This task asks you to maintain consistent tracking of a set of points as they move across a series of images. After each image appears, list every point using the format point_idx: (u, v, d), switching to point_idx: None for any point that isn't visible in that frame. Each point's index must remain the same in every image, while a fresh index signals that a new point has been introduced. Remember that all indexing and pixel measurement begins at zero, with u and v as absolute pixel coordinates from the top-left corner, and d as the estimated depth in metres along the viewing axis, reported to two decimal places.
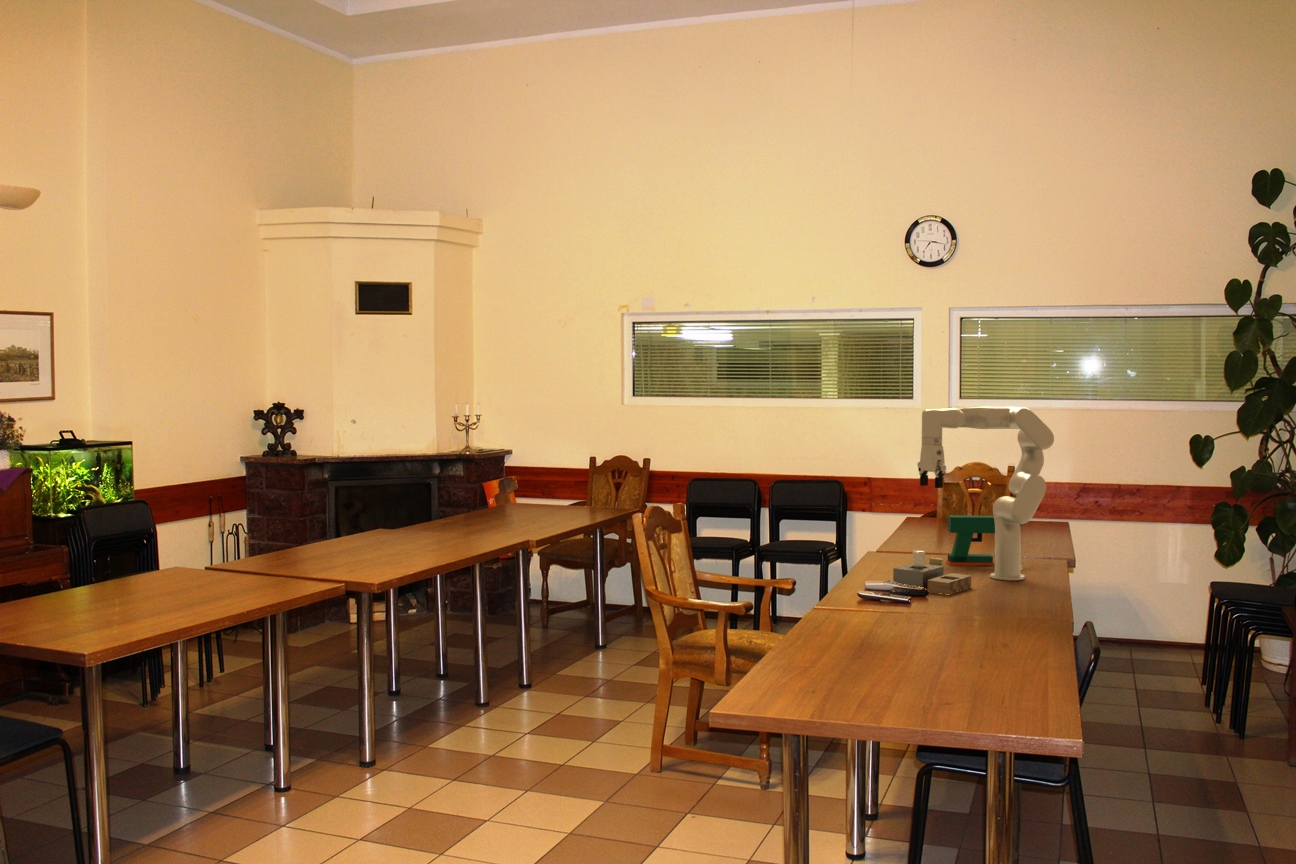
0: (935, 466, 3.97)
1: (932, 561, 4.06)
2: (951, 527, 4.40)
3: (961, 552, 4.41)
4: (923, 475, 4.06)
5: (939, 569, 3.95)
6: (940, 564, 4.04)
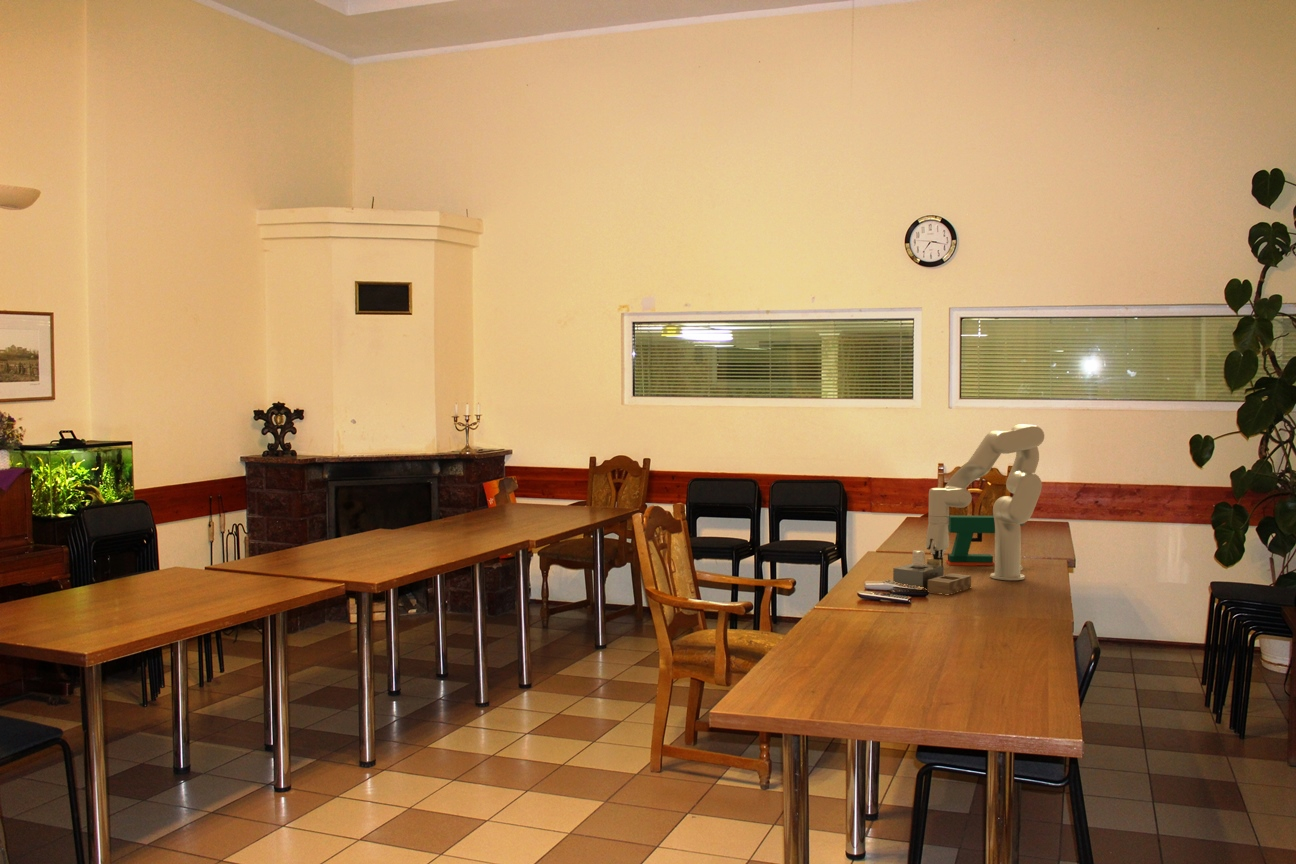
0: None
1: (930, 562, 4.05)
2: (951, 527, 4.40)
3: (961, 552, 4.41)
4: None
5: (939, 569, 3.95)
6: (938, 565, 4.02)
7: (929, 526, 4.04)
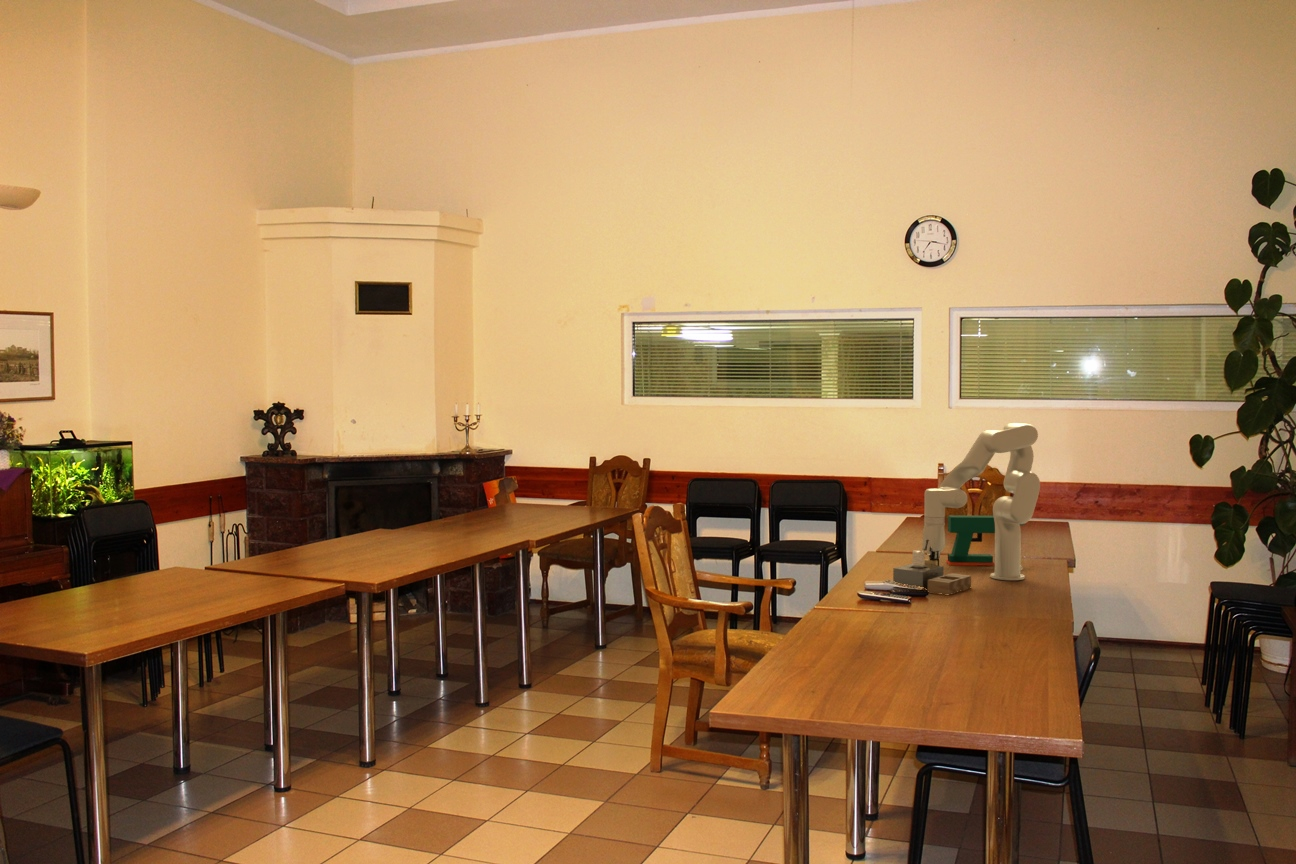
0: None
1: (926, 563, 4.02)
2: (951, 527, 4.40)
3: (961, 552, 4.41)
4: None
5: (939, 569, 3.95)
6: None
7: (925, 527, 4.02)
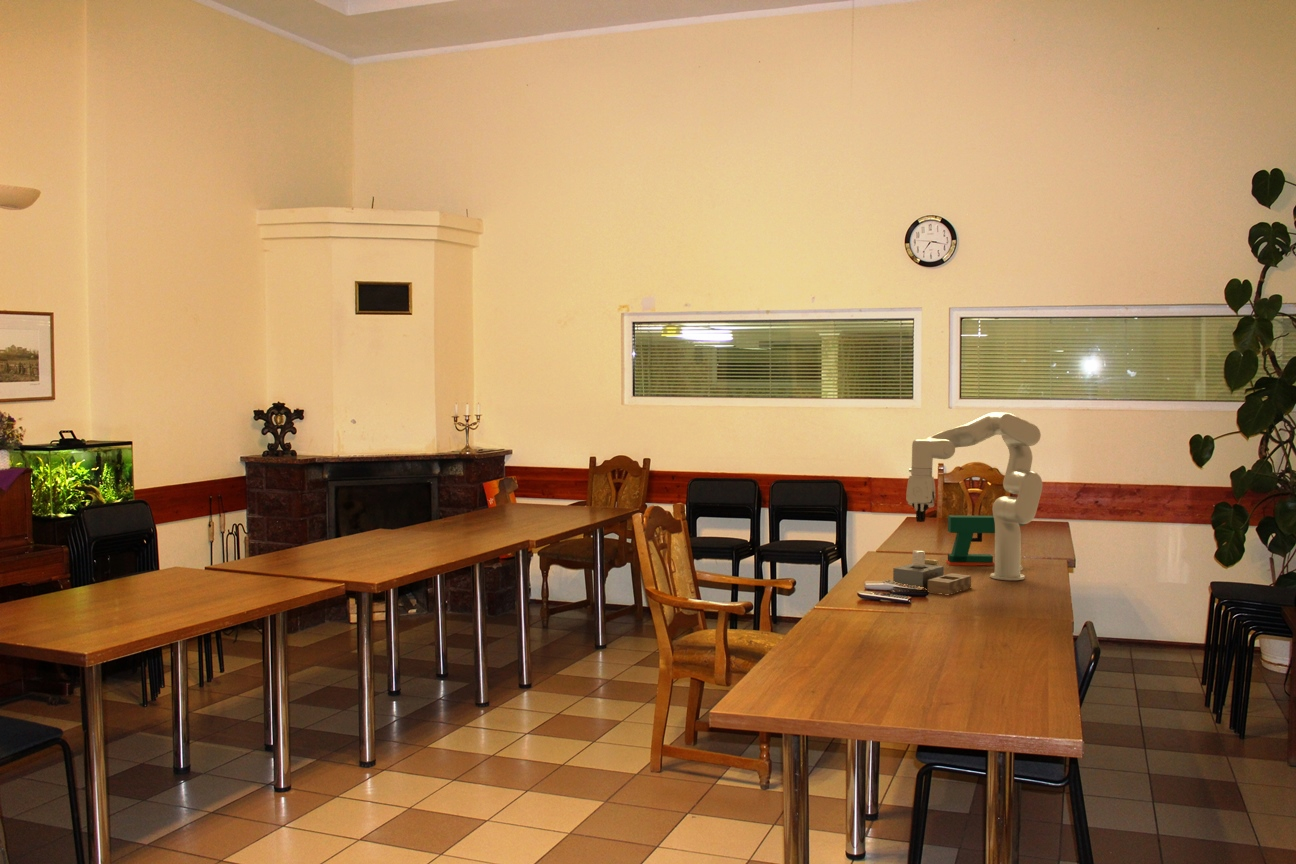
0: None
1: (927, 562, 4.03)
2: (951, 527, 4.40)
3: (961, 552, 4.41)
4: None
5: (939, 569, 3.95)
6: None
7: (930, 479, 3.91)
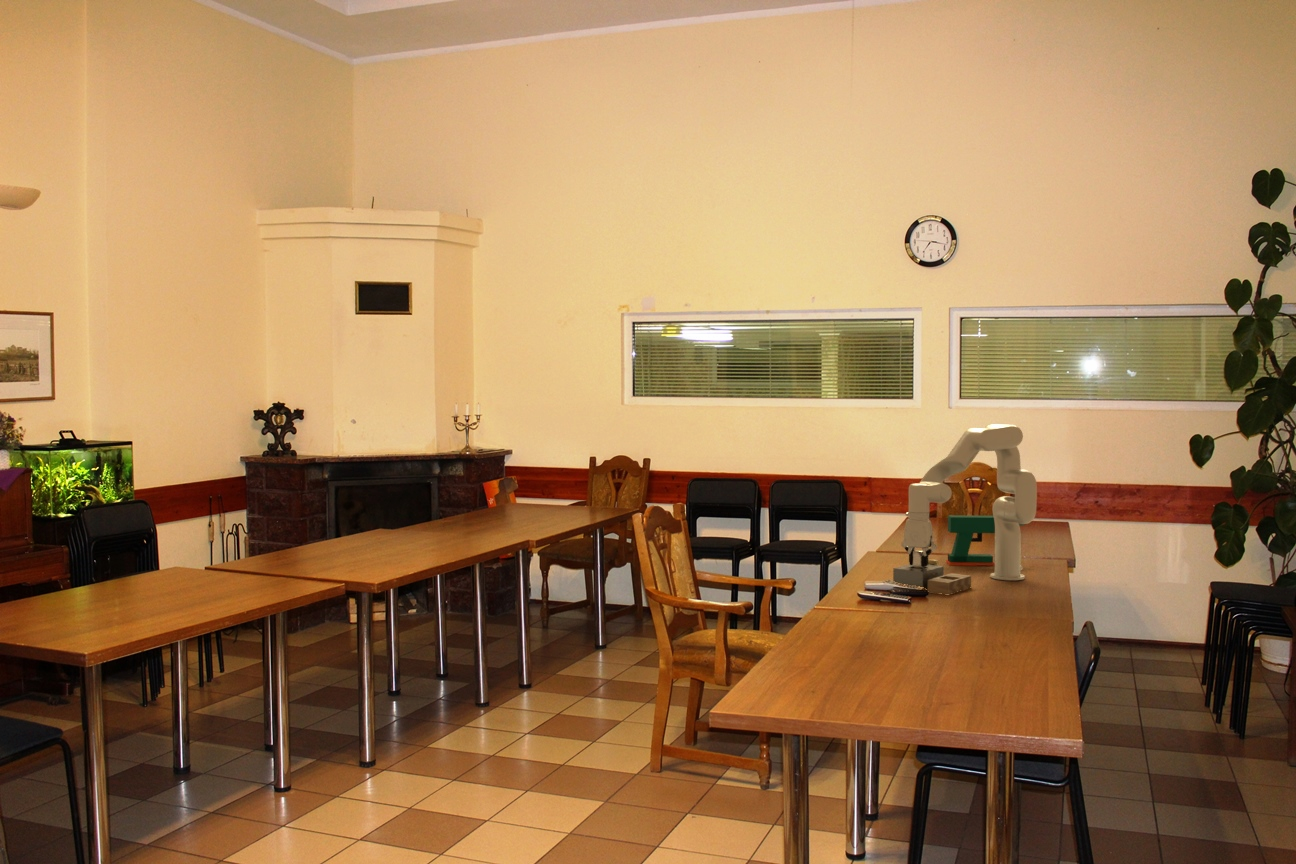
0: None
1: None
2: (951, 527, 4.40)
3: (961, 552, 4.41)
4: None
5: (939, 569, 3.95)
6: None
7: (928, 523, 3.91)
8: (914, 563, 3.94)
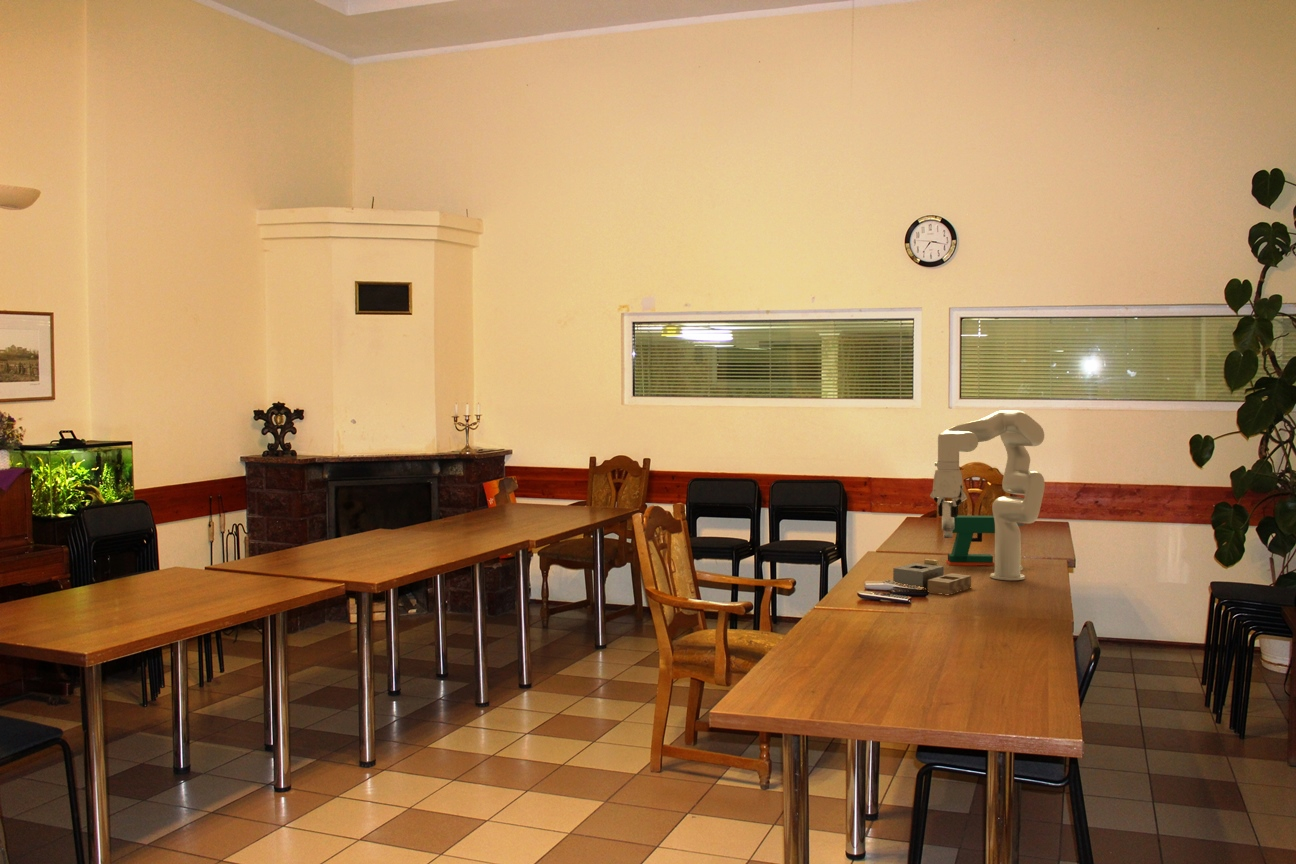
0: None
1: (927, 562, 4.03)
2: None
3: (961, 552, 4.41)
4: None
5: (939, 569, 3.95)
6: None
7: (957, 473, 3.82)
8: (943, 514, 3.85)
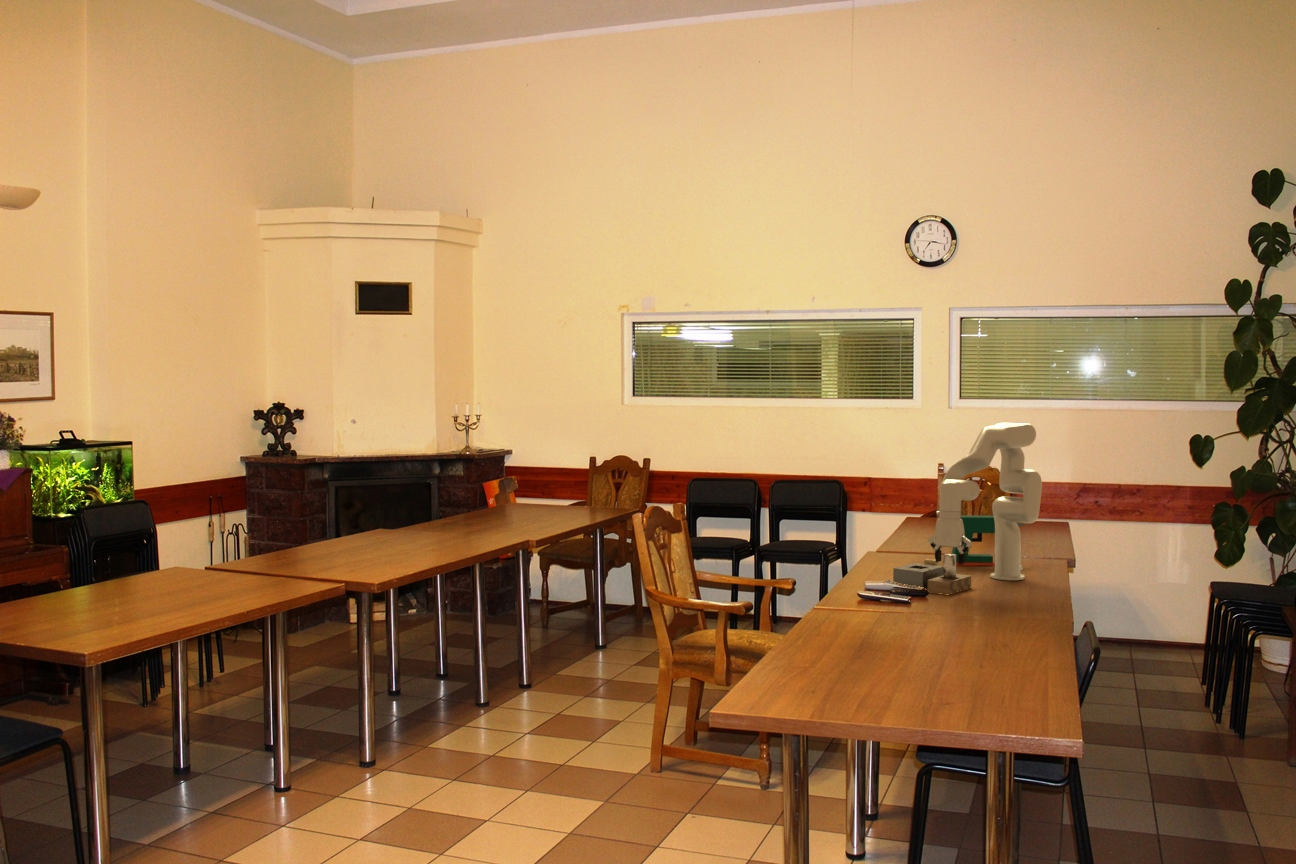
0: None
1: (927, 562, 4.03)
2: None
3: None
4: None
5: (939, 569, 3.95)
6: None
7: (959, 522, 3.82)
8: (945, 567, 3.86)
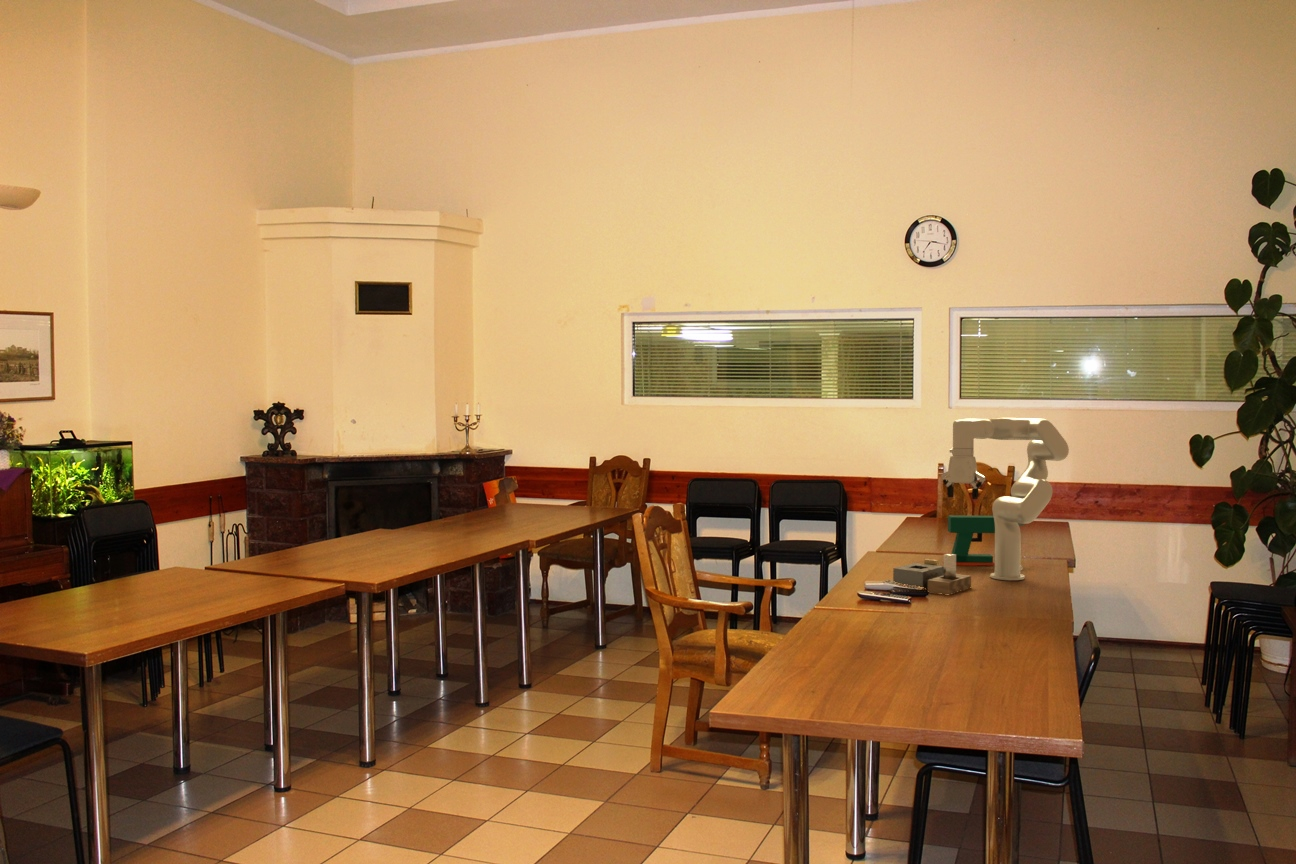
0: None
1: (927, 562, 4.03)
2: (951, 527, 4.40)
3: (961, 552, 4.41)
4: None
5: (939, 569, 3.95)
6: None
7: (972, 459, 3.94)
8: (945, 567, 3.86)
